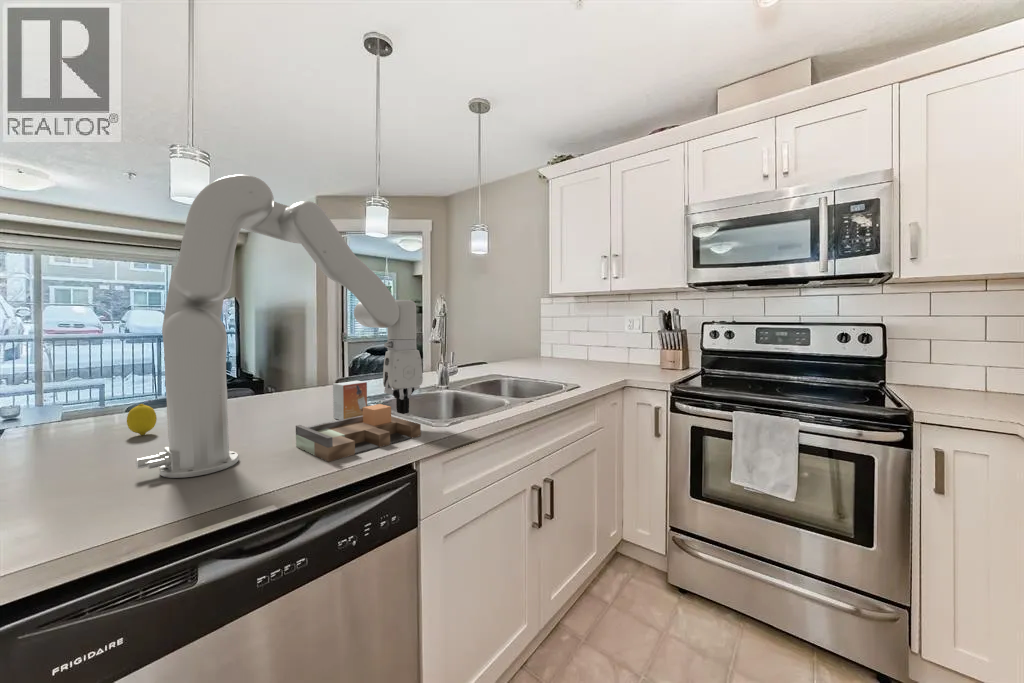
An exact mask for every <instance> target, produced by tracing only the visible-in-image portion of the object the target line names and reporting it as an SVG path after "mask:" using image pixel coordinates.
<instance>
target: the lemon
mask: <svg viewBox="0 0 1024 683" xmlns="http://www.w3.org/2000/svg"><path fill="white" fill-rule="evenodd" d="M156 413H157V412H156V411H155V409H154V408H153V407H151V406H149V405H146V404H144V403H140V404H138V405H136V406H134V407H132V408H131V409H130V410H129V411H128V413H127V416H126V425H127V427H128V430H129V431H130V432H133V433H135V434H138V435H140V436H144V435H145V434H146V433H148V432H150V431H151V430H153V429H154V427H155V426H156V424H157V420H158V419H157V414H156Z"/></svg>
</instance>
